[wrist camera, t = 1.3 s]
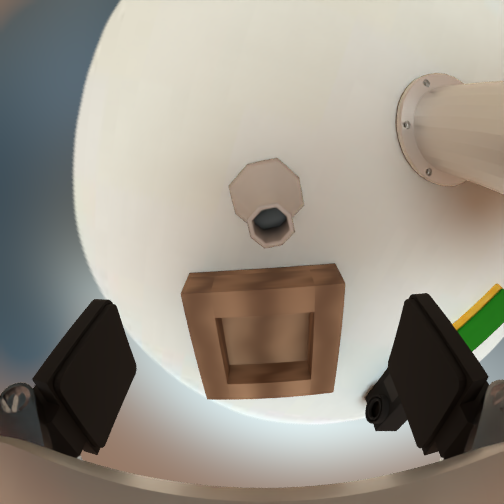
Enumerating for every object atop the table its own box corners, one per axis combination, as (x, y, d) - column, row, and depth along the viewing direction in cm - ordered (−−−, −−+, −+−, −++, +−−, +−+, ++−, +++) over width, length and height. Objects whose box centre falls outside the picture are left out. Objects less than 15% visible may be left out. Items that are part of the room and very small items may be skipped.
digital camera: (393, 349, 38) (410, 384, 31) (419, 353, 38) (438, 385, 32) (358, 397, 42) (368, 431, 35) (385, 399, 42) (396, 431, 36)
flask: (216, 182, 29) (197, 208, 20) (280, 145, 28) (291, 153, 19) (254, 241, 32) (252, 290, 23) (315, 207, 30) (340, 244, 21)
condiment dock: (335, 263, 33) (345, 283, 28) (327, 368, 39) (333, 392, 35) (189, 273, 33) (180, 293, 29) (211, 375, 40) (207, 399, 35)
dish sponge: (429, 340, 38) (436, 350, 35) (495, 280, 34) (504, 288, 32) (443, 361, 40) (449, 371, 37) (503, 307, 36) (511, 315, 34)
